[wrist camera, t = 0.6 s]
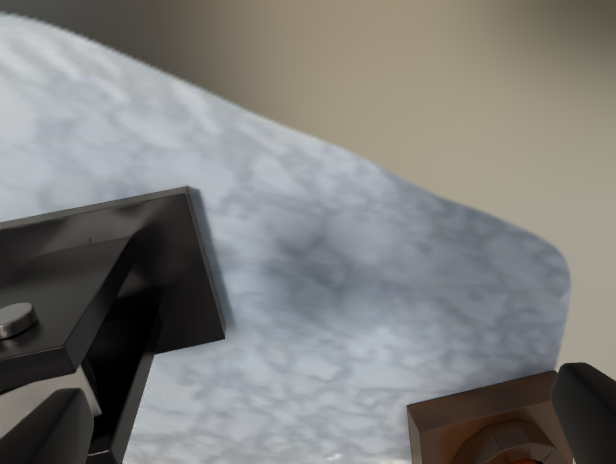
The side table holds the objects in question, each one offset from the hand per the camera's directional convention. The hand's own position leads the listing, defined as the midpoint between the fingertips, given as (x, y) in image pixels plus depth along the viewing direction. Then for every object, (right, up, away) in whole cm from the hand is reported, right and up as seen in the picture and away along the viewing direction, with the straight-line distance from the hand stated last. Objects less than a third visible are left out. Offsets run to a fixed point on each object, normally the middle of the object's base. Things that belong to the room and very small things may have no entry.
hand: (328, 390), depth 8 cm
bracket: (-10, +1, +14) cm, 17 cm away
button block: (+11, -11, +21) cm, 27 cm away
